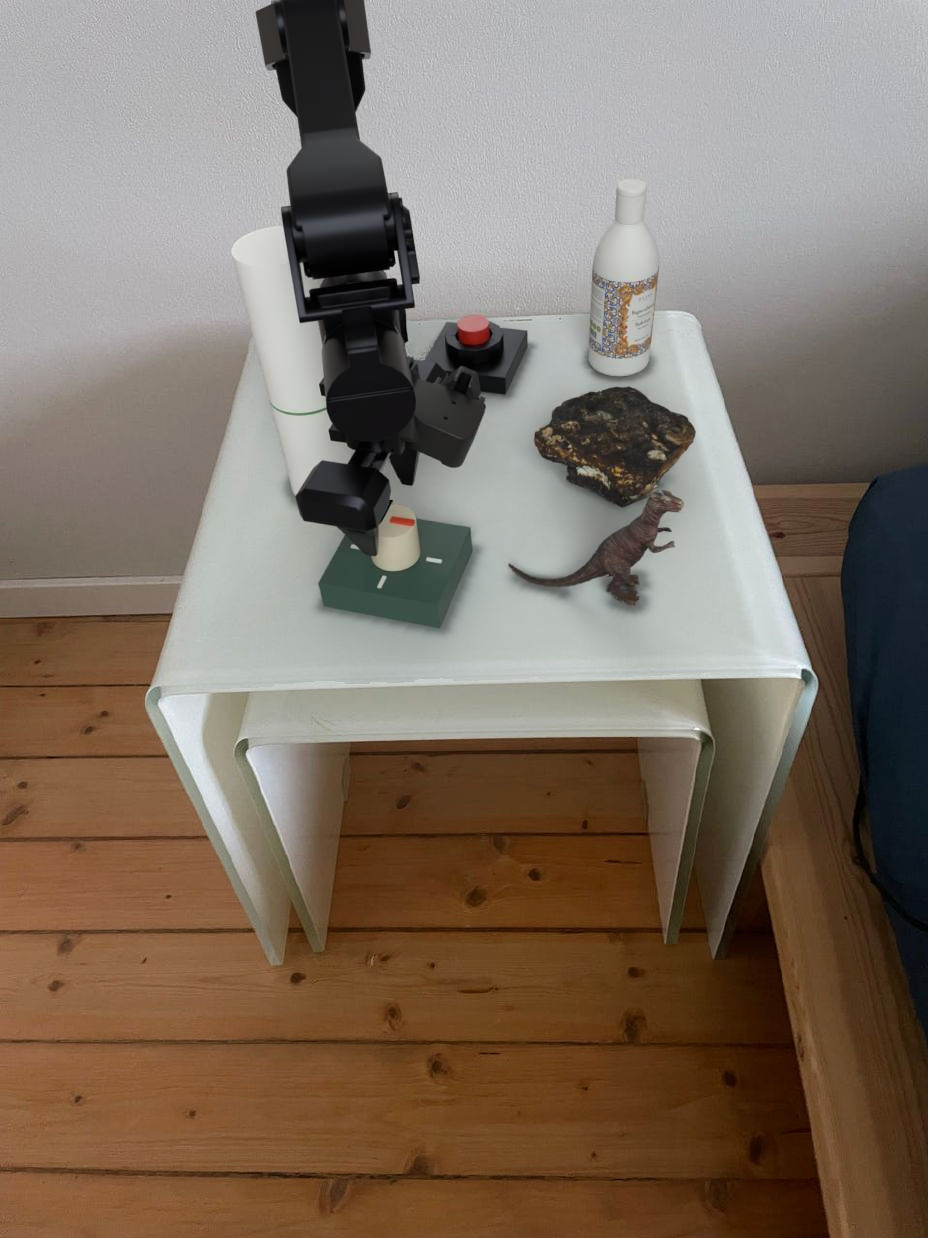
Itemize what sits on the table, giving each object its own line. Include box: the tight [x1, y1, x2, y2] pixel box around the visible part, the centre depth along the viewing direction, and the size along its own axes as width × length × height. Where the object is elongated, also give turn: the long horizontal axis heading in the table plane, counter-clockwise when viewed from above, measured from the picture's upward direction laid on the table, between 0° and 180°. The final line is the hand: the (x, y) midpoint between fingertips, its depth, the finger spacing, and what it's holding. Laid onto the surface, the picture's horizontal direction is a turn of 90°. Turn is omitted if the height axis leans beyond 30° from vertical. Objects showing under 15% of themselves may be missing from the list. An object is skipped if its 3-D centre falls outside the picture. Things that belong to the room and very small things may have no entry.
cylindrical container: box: [230, 225, 355, 497], centre depth 84 cm, size 7×7×25 cm
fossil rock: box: [533, 386, 697, 509], centre depth 90 cm, size 14×14×6 cm
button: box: [456, 314, 490, 345], centre depth 103 cm, size 4×4×2 cm
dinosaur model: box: [507, 489, 685, 606], centre depth 77 cm, size 4×12×15 cm
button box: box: [423, 320, 529, 395], centre depth 105 cm, size 10×10×4 cm
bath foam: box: [588, 178, 660, 377], centre depth 98 cm, size 7×7×20 cm
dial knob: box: [371, 503, 420, 571], centre depth 80 cm, size 4×4×4 cm
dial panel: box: [317, 518, 473, 629], centre depth 82 cm, size 11×10×3 cm
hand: (390, 517), depth 78 cm, fingers open, 9 cm apart
